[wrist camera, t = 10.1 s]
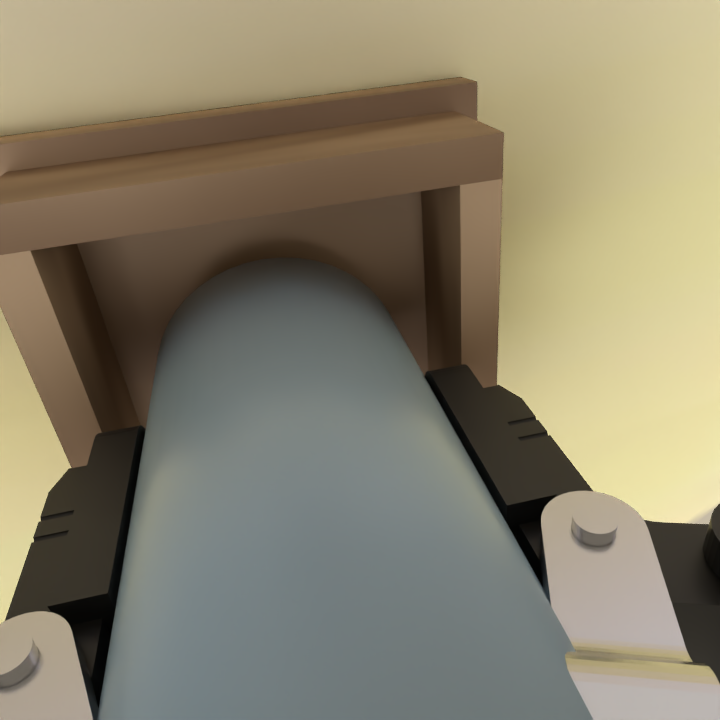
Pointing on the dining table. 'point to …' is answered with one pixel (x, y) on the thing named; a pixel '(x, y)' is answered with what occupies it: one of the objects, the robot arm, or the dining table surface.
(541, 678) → the roll
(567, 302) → the dining table surface
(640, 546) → the robot arm
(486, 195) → the holder
